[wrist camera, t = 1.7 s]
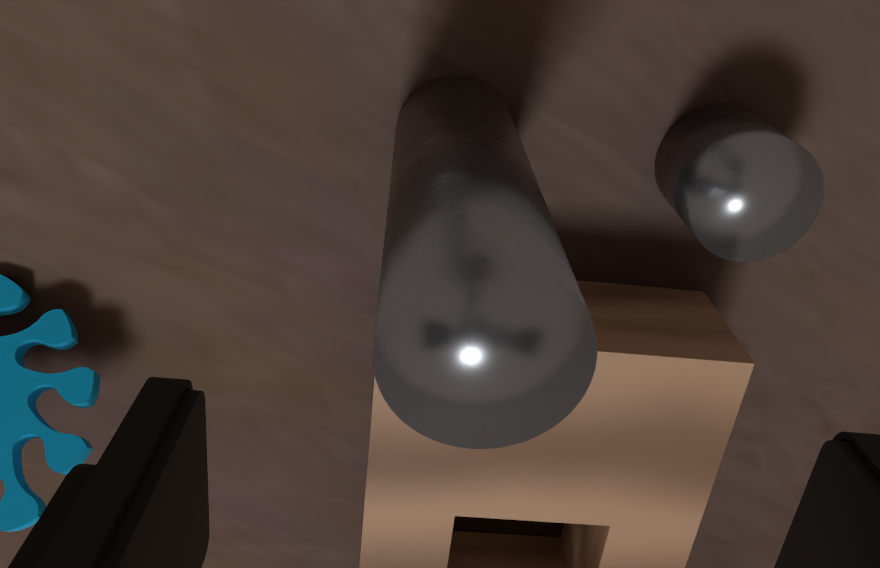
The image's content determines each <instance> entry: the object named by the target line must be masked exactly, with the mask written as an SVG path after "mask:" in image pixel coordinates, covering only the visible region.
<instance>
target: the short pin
mask: <svg viewBox="0 0 880 568" xmlns="http://www.w3.org/2000/svg"><path fill="white" fill-rule="evenodd" d="M655 178H656V182H657V185H658V187H659V189H660V191H661V193H662V194H663V196H664V197H665V198H666V200H667V201H668V202H669V204H670V205H671V206H672V207H673V209H674V210H675V211H676V212H677V214H678V215H679V216H680V218H681V219H682V220H683V221H684V223H685V224H686V225H687V226H688V228H689V229H690V230H691V232H692V233H693V234H694V235H695V237H696V238H697V239H698V240H699V242H700V243H701V244H702V245H703V246H704V247H705V248H706V249H707V250H708V251H709V252H711V253H713V254H714V255H716V256H718V257H720V258H722V259H726V260H729V261H735V262H754V261H759V260H764V259H767V258H770V257H773V256H775V255H777V254H779V253H781V252H783V251H785V250H786V249H788V248H789V247H791V246H792V245H793V244H795V243H796V242H797V241H798V240H799V239H800V238H802V236H803V235H804V234H805V233H806V232H807V231H808V230H809V228H810V227H811V225H812V224H813V222H814V221H815V219H816V217H817V215H818V213H819V210H820V208H821V204H822V201H823V194H824V182H823V176H822V172H821V169H820V167H819V165H818V163H817V161H816V160H815V158H814V157H813V156H812V155H811V154H810V153H809V152H808V151H807V150H806V149H805V148H803V147H802V146H801V145H799V144H798V143H796V142H795V141H793V140H792V139H790V138H789V137H787V136H786V135H784V134H783V133H781V132H780V131H778V130H777V129H776V128H774V127H773V126H771V125H770V124H768V123H767V122H765V121H764V120H762V119H761V118H759V117H758V116H756V115H755V114H753V113H752V112H750V111H749V110H747V109H745V108H743V107H740V106H737V105H733V104H722V103H720V104H711V105H707V106H703V107H700V108H697V109H695V110H693V111H691V112H689V113H688V114H686V115H685V116H683V117H682V118H681V119H679V120H678V121H677V122H676V123H675V124H674V125H673V126H672V127H671V128H670V129H669V131H668V132H667V133H666V134H665V136H664V138H663V139H662V141H661V143H660V146H659V148H658V151H657V154H656V159H655Z"/></svg>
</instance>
